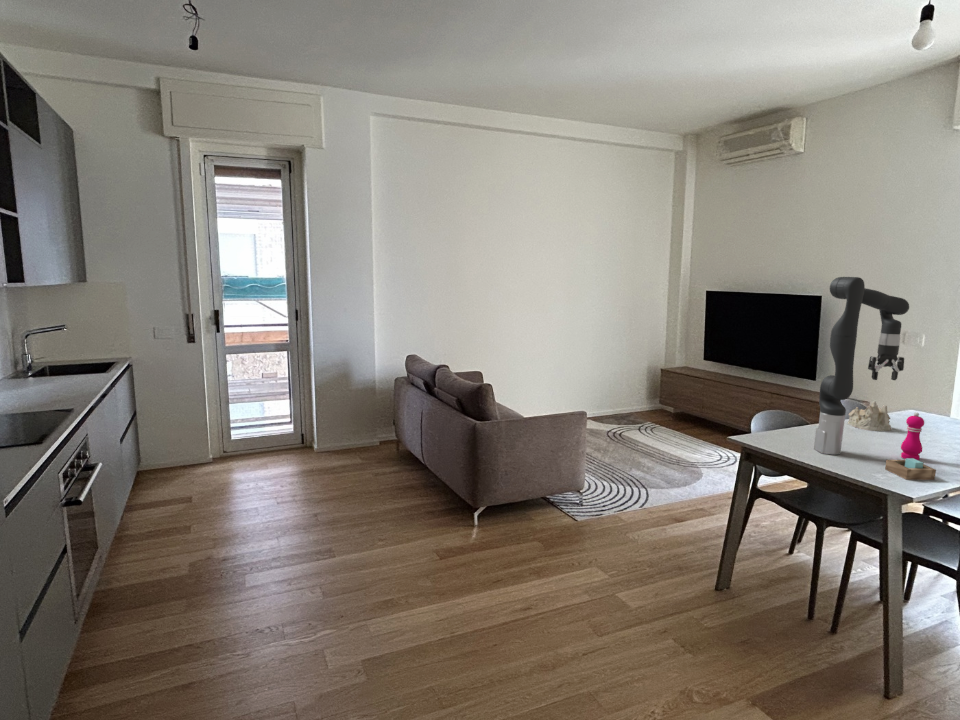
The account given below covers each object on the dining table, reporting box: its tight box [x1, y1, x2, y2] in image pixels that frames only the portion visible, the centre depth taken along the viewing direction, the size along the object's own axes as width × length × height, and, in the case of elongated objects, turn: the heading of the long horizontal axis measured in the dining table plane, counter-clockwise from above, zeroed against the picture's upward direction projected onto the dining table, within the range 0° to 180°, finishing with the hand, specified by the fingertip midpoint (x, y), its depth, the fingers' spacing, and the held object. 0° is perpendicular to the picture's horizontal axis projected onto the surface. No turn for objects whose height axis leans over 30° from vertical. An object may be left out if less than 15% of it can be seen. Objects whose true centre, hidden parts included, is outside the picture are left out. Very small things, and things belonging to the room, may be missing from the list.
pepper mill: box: [900, 411, 925, 461], centre depth 238 cm, size 7×7×20 cm
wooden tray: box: [885, 459, 937, 481], centre depth 220 cm, size 11×11×4 cm
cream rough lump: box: [847, 400, 892, 432], centre depth 286 cm, size 16×16×15 cm
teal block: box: [904, 458, 924, 468], centre depth 219 cm, size 5×3×5 cm, turn 1°
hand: (884, 379), depth 252 cm, fingers open, 8 cm apart
